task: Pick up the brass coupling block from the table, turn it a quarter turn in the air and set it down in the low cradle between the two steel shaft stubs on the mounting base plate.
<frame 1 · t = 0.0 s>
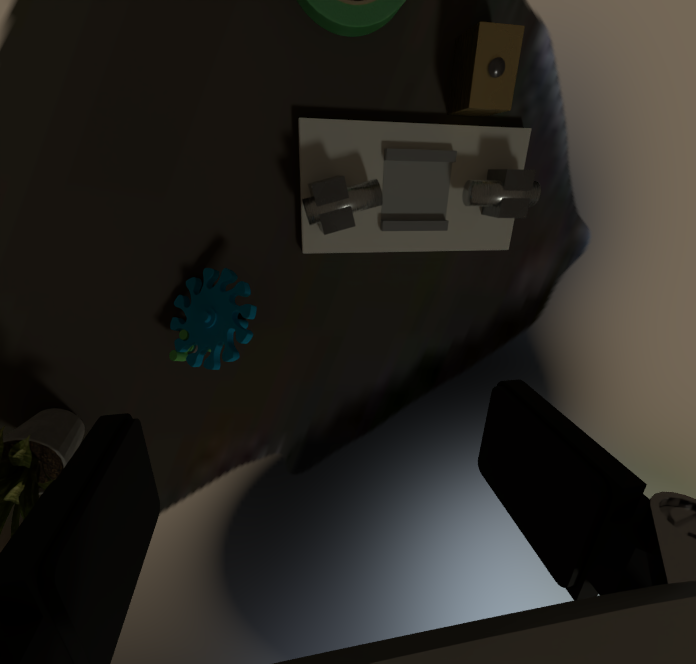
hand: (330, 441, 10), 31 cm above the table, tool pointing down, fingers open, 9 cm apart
mounting base plate: (412, 190, 38), on the table
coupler: (470, 79, 36), on the table
dark teal lobed piece: (214, 308, 40), on the table
house plant: (72, 431, 42), on the table
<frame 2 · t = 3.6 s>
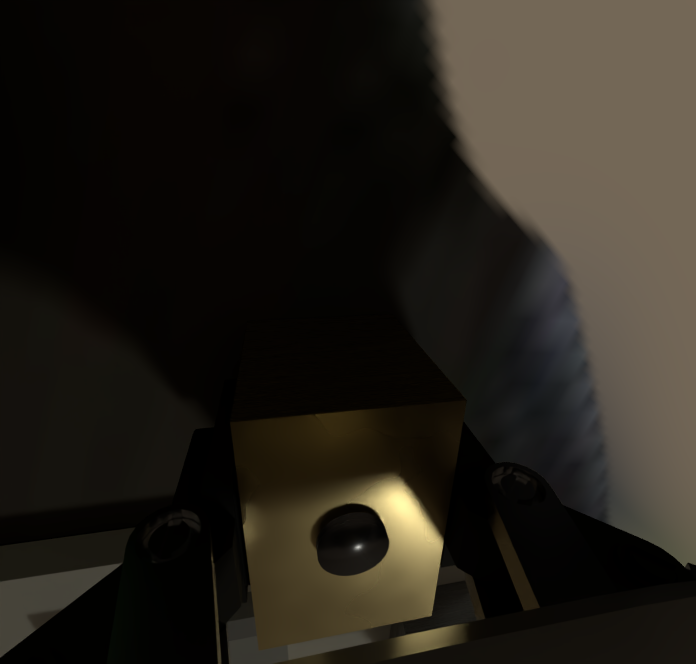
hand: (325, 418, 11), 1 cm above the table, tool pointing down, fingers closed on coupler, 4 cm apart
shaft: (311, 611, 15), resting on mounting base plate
mounting base plate: (195, 633, 14), on the table
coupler: (323, 409, 11), on the table, touching gripper
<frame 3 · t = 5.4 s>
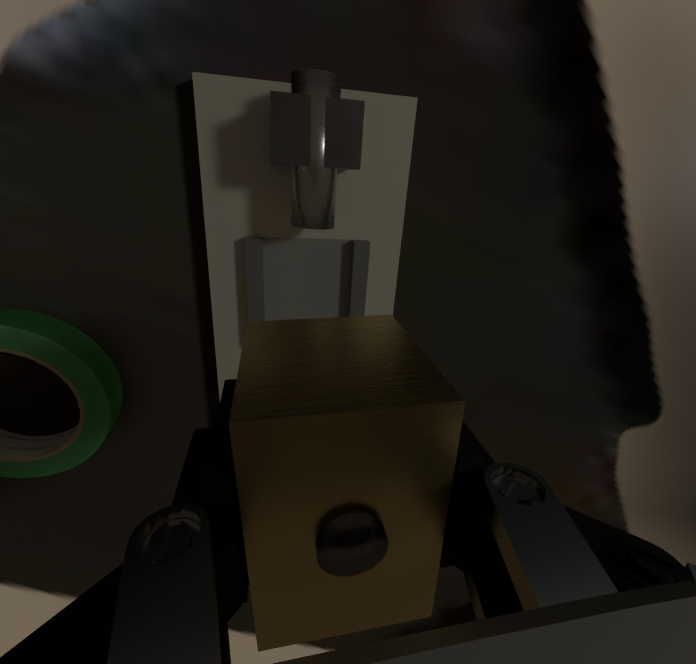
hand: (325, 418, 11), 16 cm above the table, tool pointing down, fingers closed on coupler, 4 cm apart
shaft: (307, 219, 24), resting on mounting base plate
mounting base plate: (305, 287, 25), on the table
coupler: (322, 409, 11), point 15 cm above the table, touching gripper
tape roll: (34, 384, 25), on the table
when the fingers open (3 cm above the table, at t = 7.4 s): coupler drops 1 cm, resting on mounting base plate.
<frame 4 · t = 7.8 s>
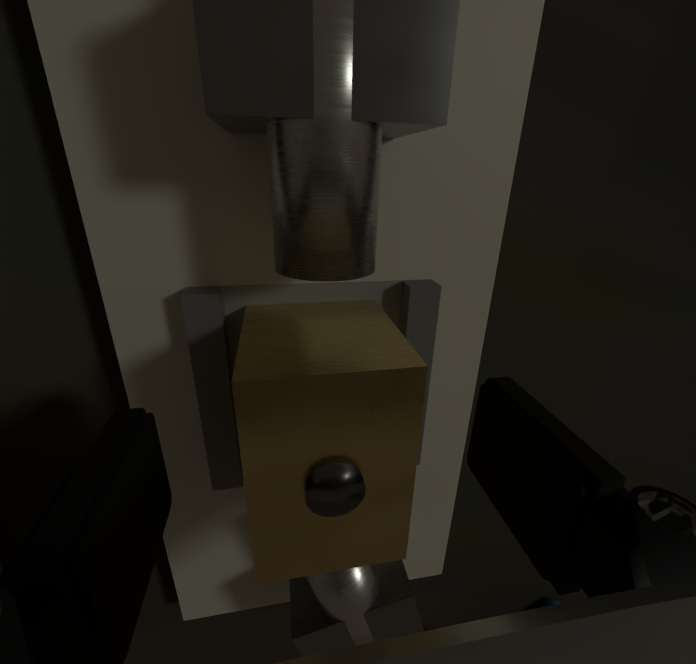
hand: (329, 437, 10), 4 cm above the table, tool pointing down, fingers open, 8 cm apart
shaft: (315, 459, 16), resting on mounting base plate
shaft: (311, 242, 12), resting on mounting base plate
mounting base plate: (313, 365, 14), on the table
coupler: (314, 385, 13), point 1 cm above the table, touching mounting base plate
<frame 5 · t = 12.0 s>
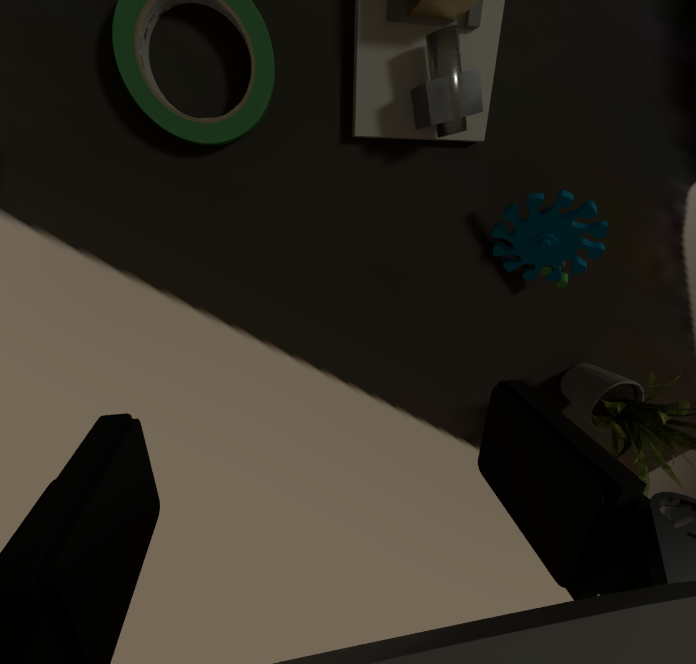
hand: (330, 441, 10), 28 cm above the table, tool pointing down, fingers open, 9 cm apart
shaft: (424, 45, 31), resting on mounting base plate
tape roll: (203, 67, 29), on the table
dark teal lobed piece: (522, 237, 40), on the table
house plant: (584, 372, 49), on the table
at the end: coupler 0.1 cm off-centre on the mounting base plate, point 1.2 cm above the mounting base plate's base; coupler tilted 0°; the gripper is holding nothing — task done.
